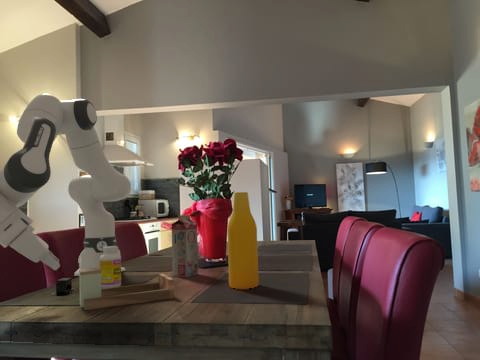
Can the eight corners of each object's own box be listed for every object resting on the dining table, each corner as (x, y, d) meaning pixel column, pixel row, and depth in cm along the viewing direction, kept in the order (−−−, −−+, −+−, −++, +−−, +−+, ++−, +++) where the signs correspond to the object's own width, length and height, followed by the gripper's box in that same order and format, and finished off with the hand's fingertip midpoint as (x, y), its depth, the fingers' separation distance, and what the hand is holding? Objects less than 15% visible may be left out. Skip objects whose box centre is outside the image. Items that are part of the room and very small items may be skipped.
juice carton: (198, 274, 142) (196, 214, 144) (186, 277, 137) (185, 215, 138) (184, 272, 146) (182, 214, 147) (172, 276, 140) (171, 215, 142)
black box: (62, 290, 125) (62, 275, 125) (84, 289, 124) (84, 275, 125) (41, 299, 112) (41, 283, 113) (66, 298, 112) (66, 283, 112)
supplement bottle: (114, 288, 121) (114, 247, 122) (95, 288, 122) (95, 248, 123) (125, 284, 128) (124, 245, 128) (107, 284, 129) (106, 245, 130)
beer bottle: (264, 286, 117) (261, 191, 119) (239, 291, 112) (235, 192, 114) (248, 282, 125) (245, 192, 127) (223, 286, 120) (220, 193, 122)
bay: (80, 300, 107) (80, 282, 108) (162, 289, 118) (162, 273, 118) (84, 310, 96) (83, 290, 96) (174, 297, 106) (173, 279, 107)
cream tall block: (79, 303, 104) (79, 269, 104) (99, 300, 106) (99, 267, 107) (80, 307, 99) (80, 272, 100) (101, 304, 101) (101, 270, 102)
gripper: (8, 237, 104) (48, 270, 107) (-2, 242, 85) (47, 281, 89) (26, 219, 106) (66, 252, 110) (21, 221, 88) (68, 260, 91)
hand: (57, 265), depth 99 cm, fingers open, 8 cm apart
